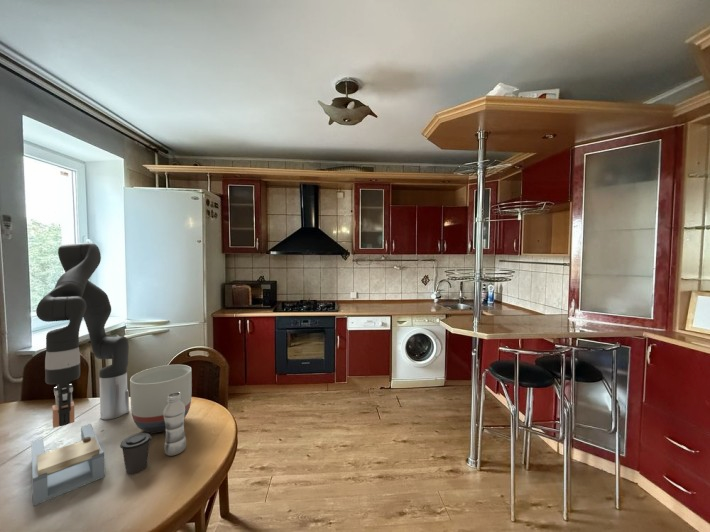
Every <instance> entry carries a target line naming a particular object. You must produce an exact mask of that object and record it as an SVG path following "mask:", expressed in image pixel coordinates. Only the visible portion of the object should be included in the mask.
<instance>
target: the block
mask: <svg viewBox="0 0 710 532" xmlns="http://www.w3.org/2000/svg"><path fill="white" fill-rule="evenodd" d="M66 407H68V405H65V406H62V407H61V409H62V408H66ZM51 411H52V429H54V428H58V427H60V426H59V413H58V406H57V405H56V404H54V405H52V410H51ZM73 423H75V403H74V400H72V402H71V411H70V423H69V424H73ZM69 424H68V425H69Z"/></svg>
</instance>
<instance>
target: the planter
mask: <svg viewBox="0 0 710 532" xmlns="http://www.w3.org/2000/svg"><path fill="white" fill-rule="evenodd" d="M192 376H193V375H192V367H191V366H189V365H186V364H166V365H160V366H155V367H151V368H147V369H143V370H142V371H139V372H137V373H135V374H133V375H132V376H131V377H130V379H129V392H130V394H129V395H130V396H129V399H130V408H131V409H130V410H131V415H132V420H133V422H134V424H135V425H136V427H137V428H139V429H140V430H142V431H144V432H145V433H154V434H157V433H162V432H163V433H164V432H166V428H165V421H164V416H163V412H164V409H165V407H166V406H167V404H168V403H169V402H168V395H169V394H172V393H176V392H179V393H180V397H181V399H180V401H181V402H182V403H183V404H184V406H185V415H184V419H185V418H186V416H187V415H188V413H189V411H190V408H191V403H192V387H193V383H192V379H193V377H192Z"/></svg>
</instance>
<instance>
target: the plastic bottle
mask: <svg viewBox="0 0 710 532" xmlns="http://www.w3.org/2000/svg"><path fill="white" fill-rule="evenodd" d="M180 399H181V397H180V393H179V392H176V393H172V394H169V395H168V402H169V403H168V404H167V406H166V407H165V409H164V412H163V416H164V421H165V428H166V431H165V440H164V447H163V449H164V454H165V455H167V456H170V457H171V456H172V457H173V456H177V455H179V454H181V453H183V452H184V450H185V449H186V447H187V438H186V434H185V427H184V426H185V424H184V423H185V418H184V415H185V406H184V404H183V403H182V402H181V401H180Z"/></svg>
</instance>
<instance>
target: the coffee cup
mask: <svg viewBox="0 0 710 532" xmlns="http://www.w3.org/2000/svg"><path fill="white" fill-rule="evenodd" d="M151 440H152V435H151V434H150V433H149V432H141V433H136V434H132V435H130V436H128V437H127V438H125V439H123V440H122V442H121V443H120V445H119V448H121V451H122V455H123V461H124V467H125V473H126V474H127V475H130V476H131V475H133V476H134V475H136V474H139V473H141V472H143V471H144V470H145V469H147V467H148V459H149V450H150V441H151Z"/></svg>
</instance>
